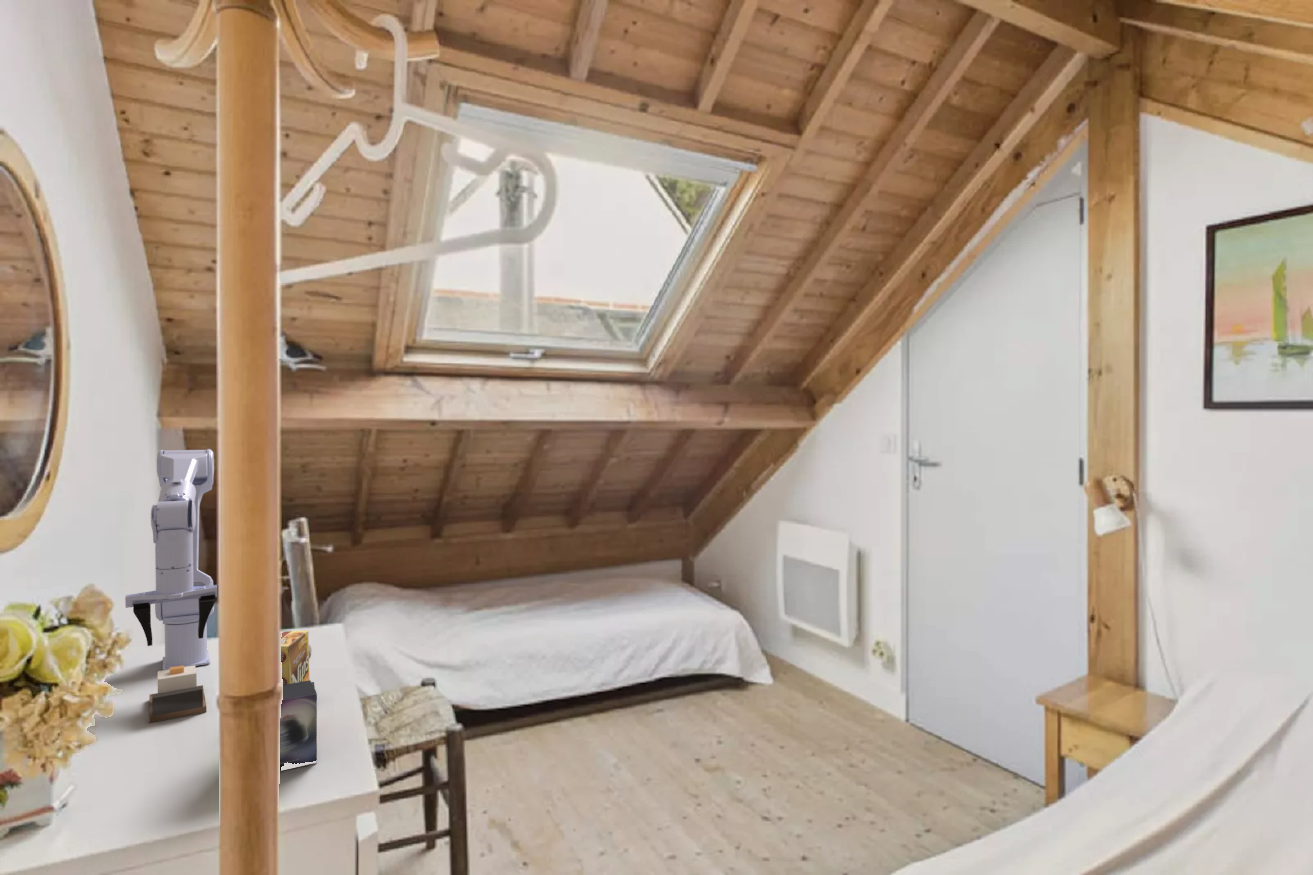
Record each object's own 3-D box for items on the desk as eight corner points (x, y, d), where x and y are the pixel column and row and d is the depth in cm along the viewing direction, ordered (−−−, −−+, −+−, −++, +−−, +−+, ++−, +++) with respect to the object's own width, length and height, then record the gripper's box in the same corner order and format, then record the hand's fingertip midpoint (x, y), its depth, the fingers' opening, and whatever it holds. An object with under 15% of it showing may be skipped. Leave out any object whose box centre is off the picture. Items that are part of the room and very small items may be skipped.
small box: (233, 785, 98) (232, 708, 98) (230, 766, 103) (229, 693, 103) (318, 764, 104) (317, 692, 103) (311, 747, 109) (310, 678, 109)
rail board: (149, 700, 128) (149, 677, 128) (202, 690, 132) (202, 668, 132) (148, 723, 118) (148, 698, 118) (206, 711, 123) (206, 688, 122)
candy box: (291, 746, 109) (290, 646, 109) (261, 748, 109) (260, 647, 108) (311, 722, 118) (310, 629, 118) (284, 724, 117) (282, 630, 117)
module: (158, 699, 125) (157, 666, 125) (195, 693, 128) (195, 660, 128) (158, 709, 121) (157, 674, 121) (196, 702, 124) (196, 668, 124)
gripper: (124, 575, 124) (125, 653, 124) (222, 565, 132) (223, 639, 132) (125, 568, 130) (127, 643, 130) (219, 559, 138) (220, 630, 138)
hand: (175, 640), depth 132 cm, fingers open, 7 cm apart
